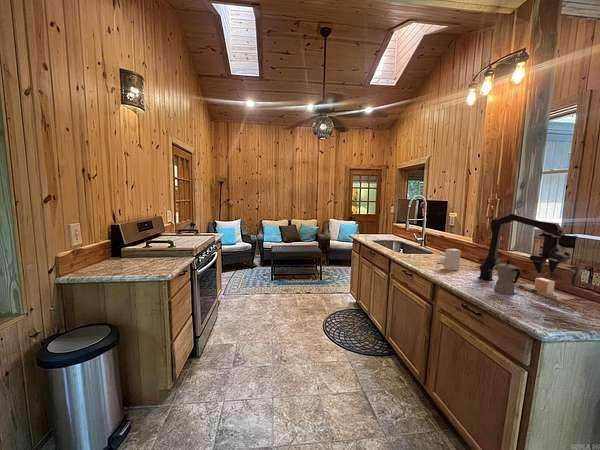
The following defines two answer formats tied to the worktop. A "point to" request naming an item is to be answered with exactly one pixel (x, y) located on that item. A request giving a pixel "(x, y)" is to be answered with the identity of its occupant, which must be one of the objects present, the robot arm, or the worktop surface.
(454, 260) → the skincare box
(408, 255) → the worktop surface
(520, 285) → the shelf board
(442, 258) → the napkin holder
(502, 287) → the coffeepot
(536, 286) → the carton
